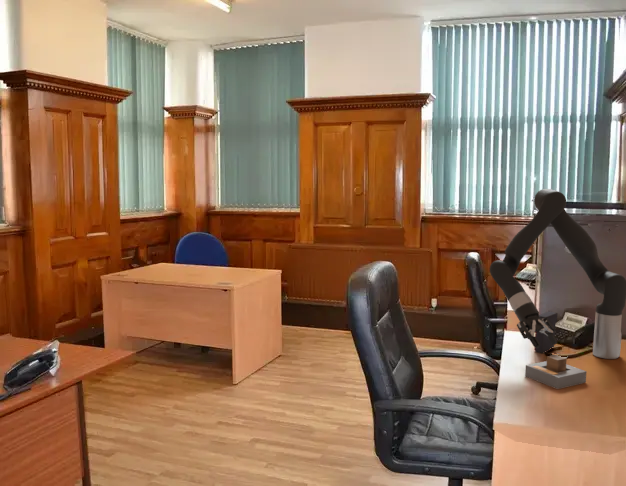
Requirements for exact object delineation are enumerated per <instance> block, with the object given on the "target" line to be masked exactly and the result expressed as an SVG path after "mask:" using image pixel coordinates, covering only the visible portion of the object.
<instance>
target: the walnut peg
mask: <svg viewBox="0 0 626 486" xmlns="http://www.w3.org/2000/svg"><path fill="white" fill-rule="evenodd" d="M567 358H568V357H567ZM567 358H564V357H561V356H558V355H549V356H548V355H547V356H546V361H547V366H546V369H548V370H551V371H553V372H556V373H559V372H563V371H566V364H567Z"/></svg>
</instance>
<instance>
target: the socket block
mask: <svg viewBox="0 0 626 486" xmlns="http://www.w3.org/2000/svg"><path fill="white" fill-rule="evenodd" d="M546 366H547V360H546V361H541V362H536V363H530V364H529V363H528V364H526V365H525V370H524V371H525V372H524V373H525V374H524V376H525V377H527V378H529V379H531V380H534V381H537V382H539V383H541V384H544V385H546V386H548V387H552V388H554V389H556V390H559V389H563V388H567V387H572V386H577V385H581V384H586V383H587V370H583V369H581V368H578V367H574V366H572V365H570V364H567V363H566V371H563V372H559V373H556V372H553V371H551V370H548V369H546Z"/></svg>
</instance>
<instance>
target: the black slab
mask: <svg viewBox="0 0 626 486" xmlns="http://www.w3.org/2000/svg"><path fill="white" fill-rule="evenodd" d="M539 317H540V318H541V319H544V318H545V317H547V318H548V319H549V321H550V322H551V323H552V325H553V326H554V328H555V329H556V323H557V321H558V312H555V311H546V312H544V313H542V314H541V313H540V314H539ZM543 328H544V327H543ZM549 328H550V327H549ZM550 329H551V328H550ZM546 332H548V331H547V330H546ZM553 335H554V336H555V335H556V330H555V331H554V332H553ZM534 336H535V337H536V338H537V340H538V342H539V343H540V347H538V348H535V347H534V346H533V347H534V349H533V350H534V352H535V353H538V354H544V353H546V352H548V351H550V350H549V349H550V348H552V347H554V348H555V345H552V344H551V342H550V340H549V339H548V337H547V335H545V334H544V333H541V332H534ZM547 350H548V351H547ZM545 351H546V352H545Z"/></svg>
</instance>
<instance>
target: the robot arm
mask: <svg viewBox="0 0 626 486" xmlns="http://www.w3.org/2000/svg"><path fill="white" fill-rule="evenodd" d="M534 206H535V207H536V209H537V210H538V211H537V213H536V215H534V217H533V218H532V219H531V220H530V222H529V223H527V225H525V226H524V227H523V228H521V229H520V230H519V231H518V232H517V233H516V234H515V235H514V237H513V238H512V239H511V240H510V242H509V244H508V245H507V246H506V248H505V250H504V254H505V256H504V258H503V259H502V260H494V261H492V262H491V264H490V267H489V273H490V275H491V277H492V279H493V280H494V281H495V283H496V284H497V285H498V287H499V288H500V289H501V291H502V292H503V294H504V296H505V298H506V300H507V302H508V303H509V305H510V307H511V309H512V310H513V313H514V314H515V315H516V318H518V321H519V322H518V323H517V324H516V327H517V329H518V330H519V333H520V334H521V336H522V338H523V339H524V340H526V339H528V340H529V341H530V343H531V344H532V346H533V347H535V348H538V347H540V343H539V342H538V340H537V338H536V337H535V332H541V333H544V334H545V335H547V337H548V339H549V340H550V342H551V344H552V345H554V346H555V345H556V344H557V343H558V340H557V338H556V337H555V336H554V335H553V332H554V331H555V332H556V327H555V328H554V326H553V325H552V323H551V322H550V321H549V319H548V318H547V317H545V318H544V319H541V318H540V317H539V315H540V312H539V310H538V309H537V307H536V305H535V304H534V302H533V300H532V298H531V297H530V296H529V294H528V293H527V292H526V290H525V289H524V287H523V286H522V284H521V283H520V281H519V280H517V279H516V278H515V274H516V272H517V270H518V268H519V265H520V264H521V261H522V259H523V258H524V256H525V255H526V254H527V253H528V251H529V249H531V247H532V246H533V244H534V243H535V242H536V240H537V239H538V238H539V237H540V235H541V234H542V233H543V232H544V231H545V230H546V229H547V228H549V225H550V224H551V225H550V226H552V227H553V229H554V230H555V232H556V234H557V235H558V236H559V238H560V240H561V241H562V243H563V244H564V245H565V248H567V250H568V251H569V252H570V254H571V255H572V256H573V258H574V259H575V260H576V262H577V263H578V265H579V266H580V267H581V268H582V269H583V270H584V272H585V273H586V275H587V277H588V278H589V281H590V282H591V285H592V286H593V288H594V289H595V290H596V291H597V292H598V293H600V294H601V295H603V299H602V302H601V303H600V302H599V303H598V304H597V305H596V307H595V319H594V331H593V332H594V333H593V345H592V355H594V357H597V358H601V359H606V360H607V359H608V360H615V359H618V358H619V357H620V356H621V348H622V347H621V346H622V345H621V344H622V337H623V336H622V335H623V334H622V332H621V330H622V317H623V315H622V314H623V310H624V308H625V306H626V277H624V275H622V274H619V273H616V272H612V271H610V270H608V268H607V267H606V266H605V265H604V264H603V262H602V261H601V260H600V259H601V258H599V254H598V248H597V245H596V242H595V241H594V240H593V238H592V236H591V235H590V233H588V231H587V230H586V229H585V228H584V227H583V226H582V225H581V224H580V223H578V222H577V220H575V219H574V218H573V217H572V216H571V215H570V214H569V213H568V212H567V211H566V210H565V208H566V206H567V197H566V196H565V194H564V193H562V192H561V191H559V190H554V189H551V188H544V189H540V190H538V191H537V192H536V193H535V195H534ZM543 327H544V328H543ZM549 327H550V328H551V329H550V328H549ZM546 330H547V331H548V332H546Z"/></svg>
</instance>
